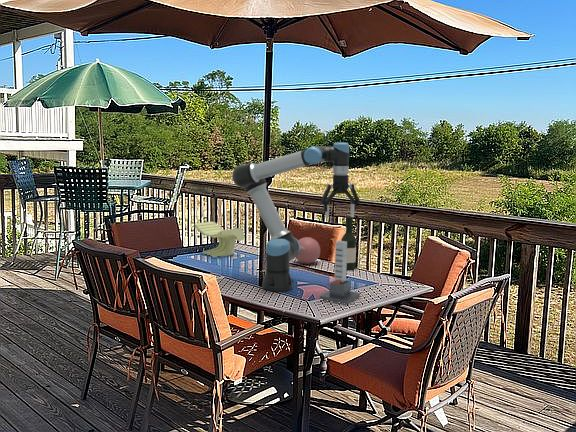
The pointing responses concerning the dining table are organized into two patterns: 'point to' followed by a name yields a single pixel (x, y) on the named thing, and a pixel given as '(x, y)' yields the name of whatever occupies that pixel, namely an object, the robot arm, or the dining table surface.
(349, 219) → the wine bottle
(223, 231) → the slatted curved stool
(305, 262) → the pink rounded ovoid
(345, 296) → the stand
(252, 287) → the dining table surface
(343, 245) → the column
